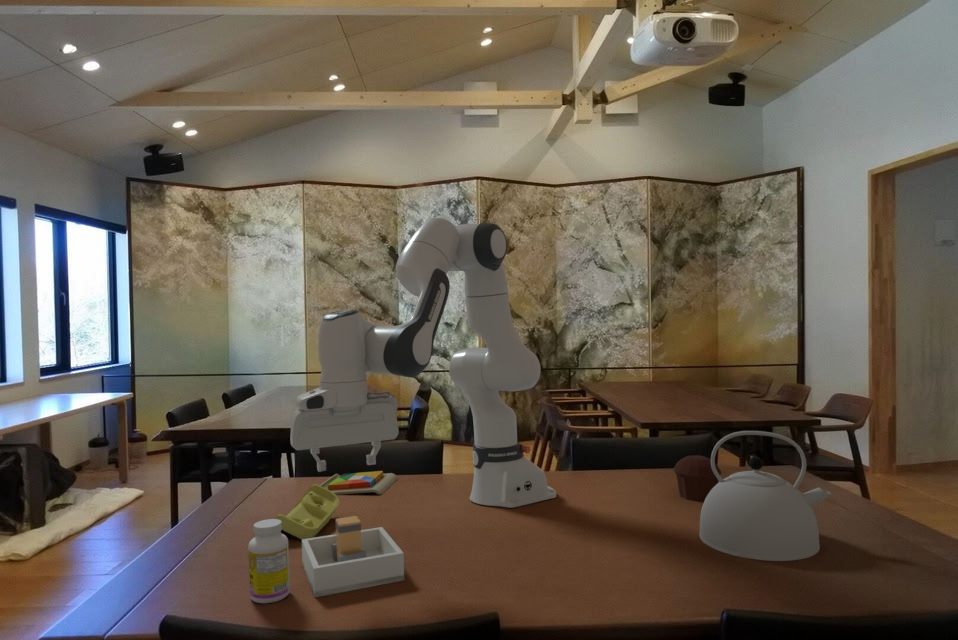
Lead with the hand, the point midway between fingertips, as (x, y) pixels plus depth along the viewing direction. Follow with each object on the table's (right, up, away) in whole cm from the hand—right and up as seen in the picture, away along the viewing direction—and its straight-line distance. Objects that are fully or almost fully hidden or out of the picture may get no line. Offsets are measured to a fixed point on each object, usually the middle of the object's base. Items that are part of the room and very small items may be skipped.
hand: (346, 467), depth 124 cm
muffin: (+81, -17, +41) cm, 92 cm away
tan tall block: (0, -18, 0) cm, 18 cm away
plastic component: (-14, -20, +26) cm, 35 cm away
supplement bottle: (-11, -20, -11) cm, 25 cm away
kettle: (+84, -17, +9) cm, 86 cm away
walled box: (+1, -19, -2) cm, 20 cm away
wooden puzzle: (-9, -20, +60) cm, 64 cm away
